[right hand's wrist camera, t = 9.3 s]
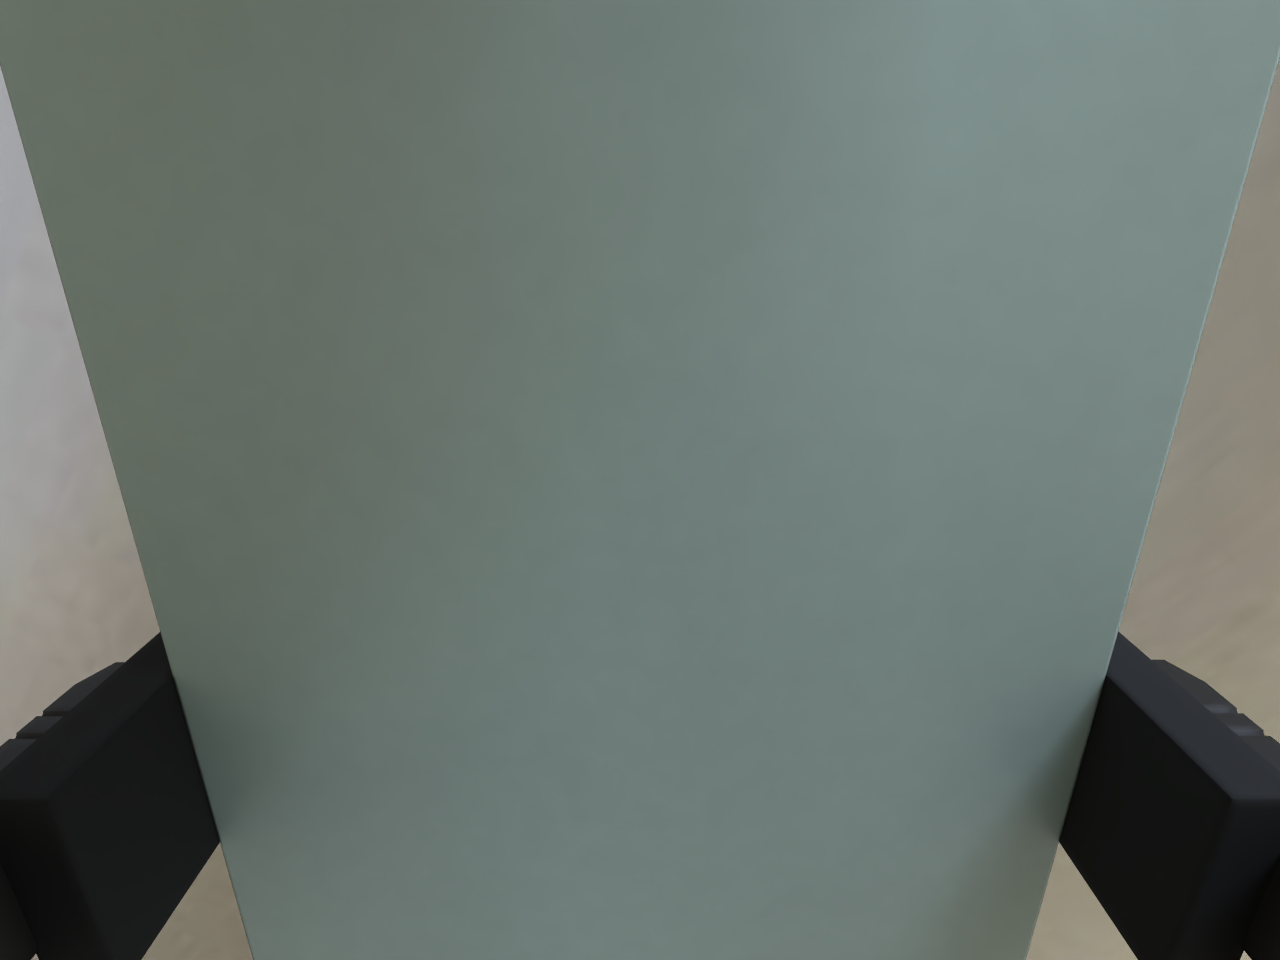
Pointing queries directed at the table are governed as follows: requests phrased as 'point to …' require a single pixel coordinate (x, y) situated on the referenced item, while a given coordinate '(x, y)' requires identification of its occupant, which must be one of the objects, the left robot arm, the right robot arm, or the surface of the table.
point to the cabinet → (639, 438)
